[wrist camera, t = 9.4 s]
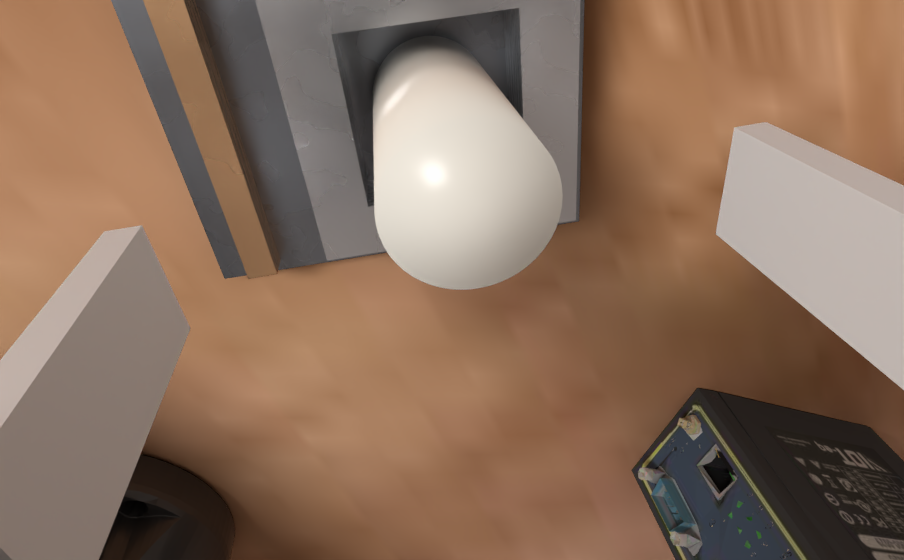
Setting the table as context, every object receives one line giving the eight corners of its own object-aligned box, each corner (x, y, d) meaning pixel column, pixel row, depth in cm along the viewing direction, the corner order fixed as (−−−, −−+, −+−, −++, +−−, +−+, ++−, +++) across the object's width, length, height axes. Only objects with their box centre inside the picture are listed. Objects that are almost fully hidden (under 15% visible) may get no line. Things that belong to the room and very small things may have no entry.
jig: (229, 266, 25) (211, 312, 22) (95, -71, 18) (43, -69, 15) (572, 211, 26) (598, 248, 23) (577, -132, 19) (616, -142, 16)
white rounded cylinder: (383, 160, 22) (391, 302, 14) (362, 44, 20) (356, 132, 11) (490, 144, 22) (562, 274, 14) (482, 28, 20) (563, 101, 12)
